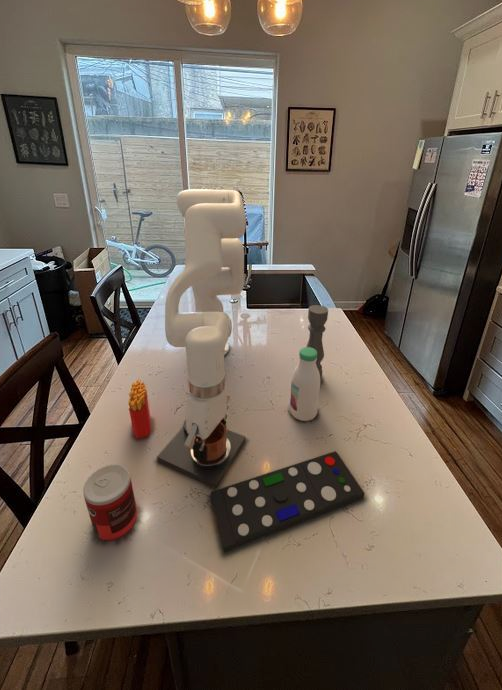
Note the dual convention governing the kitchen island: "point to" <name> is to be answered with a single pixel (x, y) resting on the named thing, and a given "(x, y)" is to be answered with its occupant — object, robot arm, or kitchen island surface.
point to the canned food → (110, 502)
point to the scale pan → (216, 461)
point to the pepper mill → (317, 332)
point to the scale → (183, 462)
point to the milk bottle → (305, 386)
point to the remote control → (282, 499)
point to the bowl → (216, 442)
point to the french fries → (139, 410)
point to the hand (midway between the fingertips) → (210, 444)
